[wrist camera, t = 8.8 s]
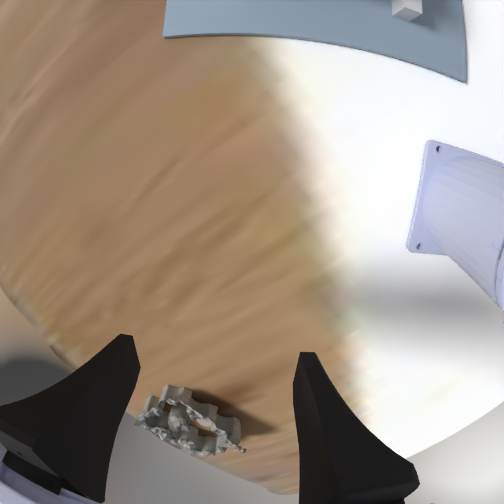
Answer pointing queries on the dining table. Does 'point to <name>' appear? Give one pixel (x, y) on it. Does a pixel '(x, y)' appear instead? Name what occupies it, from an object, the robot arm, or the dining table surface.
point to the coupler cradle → (337, 26)
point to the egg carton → (178, 423)
